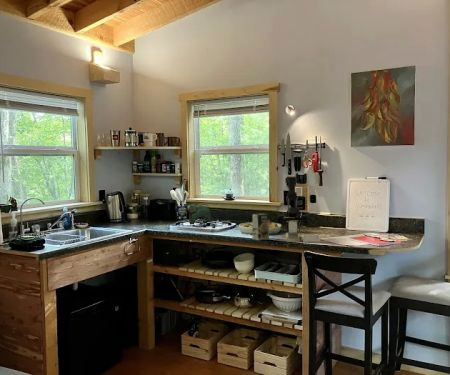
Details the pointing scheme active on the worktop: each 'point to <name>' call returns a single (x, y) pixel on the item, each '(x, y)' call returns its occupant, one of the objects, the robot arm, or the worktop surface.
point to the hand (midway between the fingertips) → (292, 230)
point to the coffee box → (260, 226)
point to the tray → (311, 238)
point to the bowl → (248, 227)
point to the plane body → (292, 237)
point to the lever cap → (292, 226)
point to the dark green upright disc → (198, 213)
